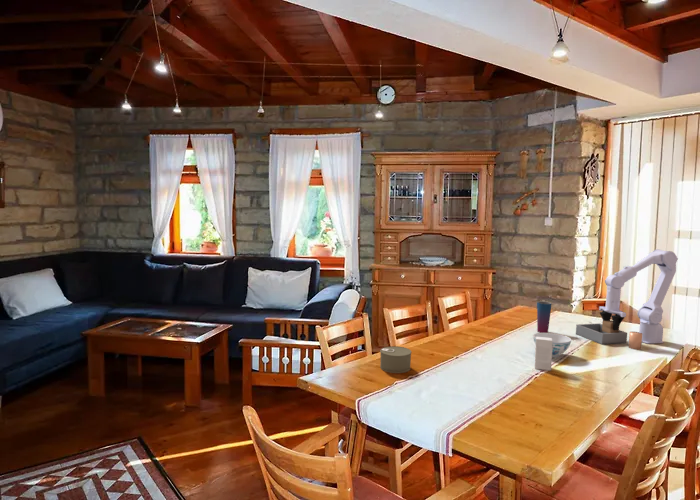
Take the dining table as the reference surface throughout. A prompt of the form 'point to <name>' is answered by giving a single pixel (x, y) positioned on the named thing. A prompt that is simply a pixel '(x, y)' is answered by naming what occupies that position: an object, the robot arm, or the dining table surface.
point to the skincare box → (543, 353)
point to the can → (395, 359)
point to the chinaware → (556, 342)
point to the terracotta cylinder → (635, 340)
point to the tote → (600, 334)
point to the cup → (543, 316)
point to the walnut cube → (608, 327)
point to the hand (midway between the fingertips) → (610, 328)
